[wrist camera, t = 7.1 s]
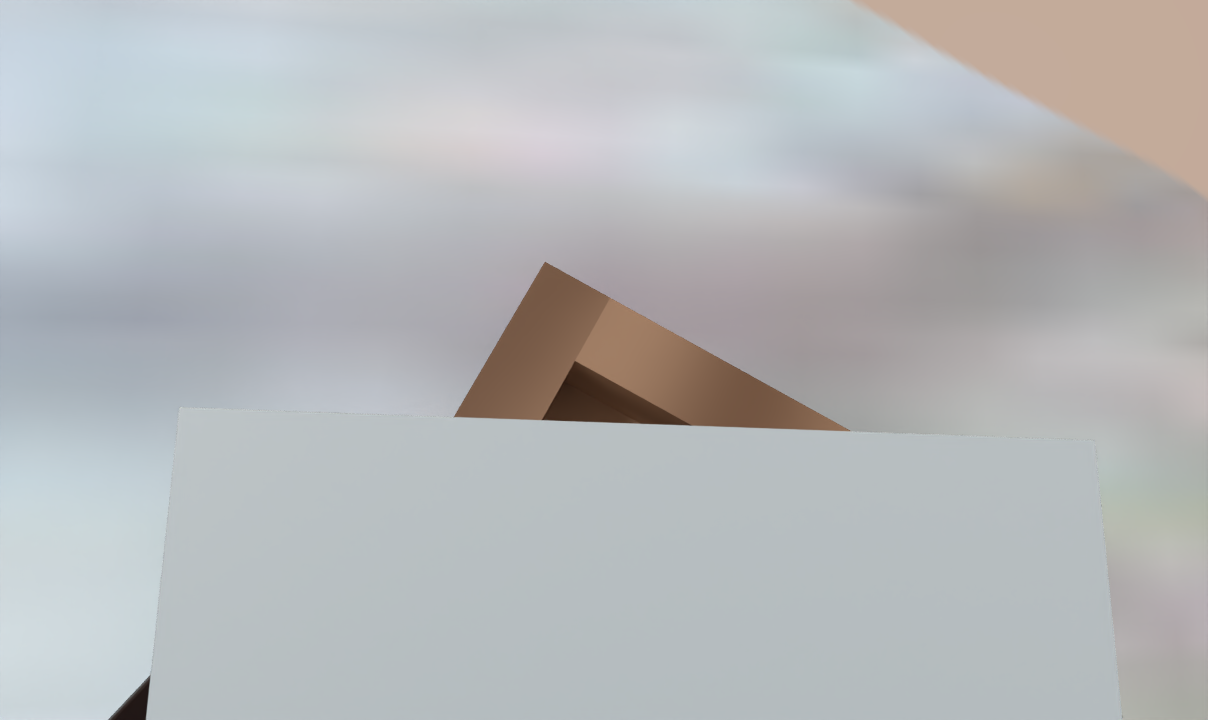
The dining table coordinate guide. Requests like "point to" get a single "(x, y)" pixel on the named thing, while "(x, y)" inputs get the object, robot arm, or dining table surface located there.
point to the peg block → (626, 573)
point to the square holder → (616, 370)
